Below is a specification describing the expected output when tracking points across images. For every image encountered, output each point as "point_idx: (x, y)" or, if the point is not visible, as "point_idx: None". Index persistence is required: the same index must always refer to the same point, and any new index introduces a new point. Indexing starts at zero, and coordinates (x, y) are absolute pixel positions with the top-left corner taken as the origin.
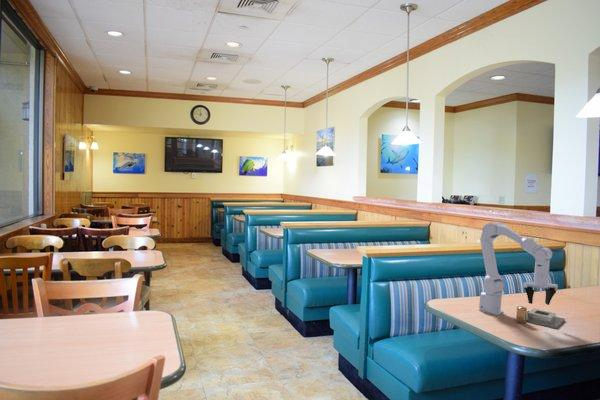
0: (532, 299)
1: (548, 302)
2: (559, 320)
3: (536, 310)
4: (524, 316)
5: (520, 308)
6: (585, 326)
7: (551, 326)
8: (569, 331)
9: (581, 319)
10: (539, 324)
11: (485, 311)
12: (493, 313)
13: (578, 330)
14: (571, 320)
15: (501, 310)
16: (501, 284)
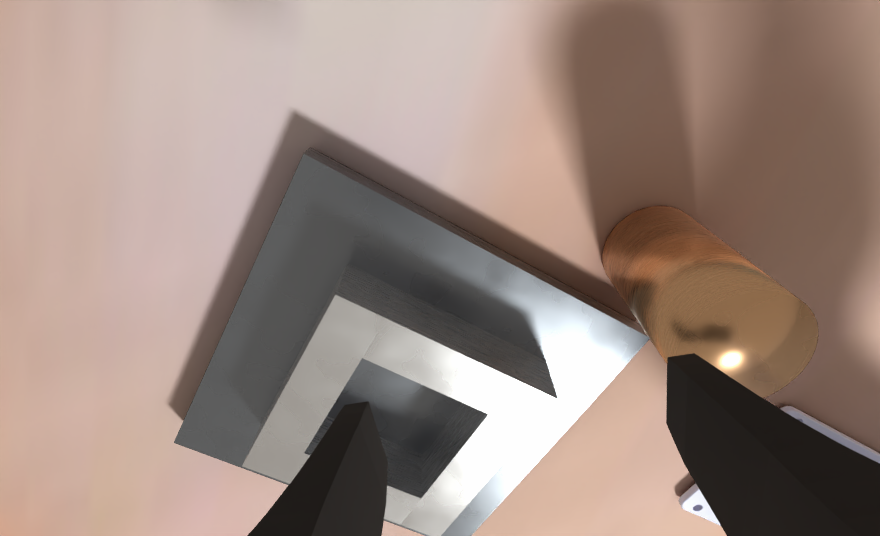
0: (728, 407)
1: (353, 426)
2: (233, 379)
3: (430, 493)
4: (675, 246)
5: (799, 299)
6: (8, 342)
7: (357, 178)
8: (176, 118)
9: (43, 504)
10: (468, 233)
11: (873, 452)
12: (820, 423)
13: (77, 191)
14: (125, 460)
15: (694, 511)
16: None
